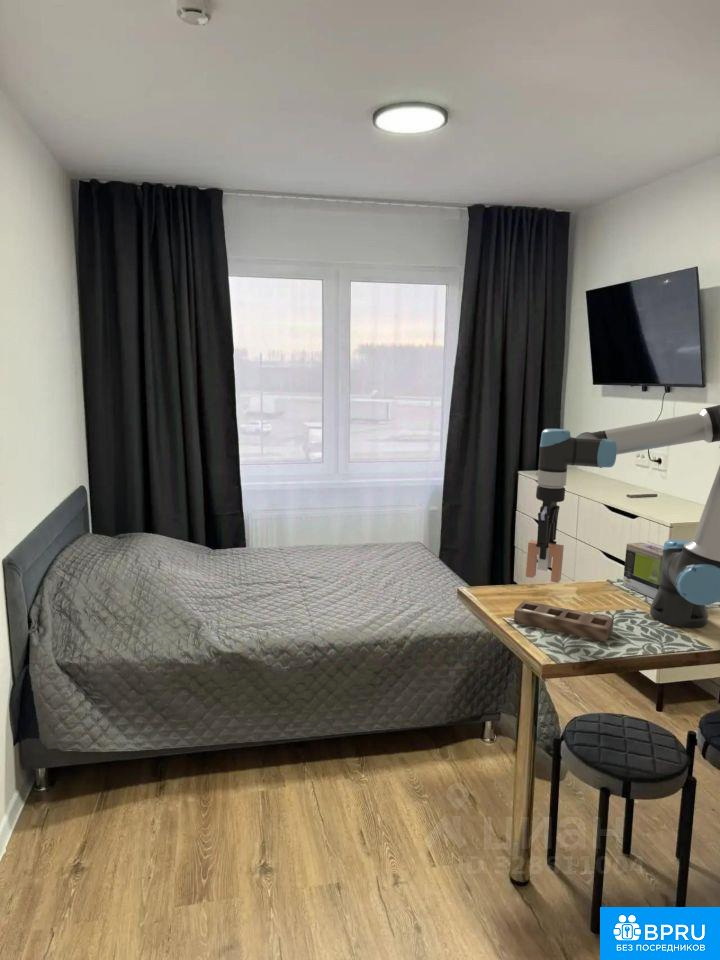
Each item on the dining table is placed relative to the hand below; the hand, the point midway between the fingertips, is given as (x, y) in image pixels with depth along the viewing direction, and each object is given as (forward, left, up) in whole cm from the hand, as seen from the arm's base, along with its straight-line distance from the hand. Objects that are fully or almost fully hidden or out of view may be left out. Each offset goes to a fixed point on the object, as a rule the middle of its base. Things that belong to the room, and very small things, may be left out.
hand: (544, 567), depth 185 cm
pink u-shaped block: (0, 0, -3) cm, 3 cm away
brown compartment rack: (-6, 0, -16) cm, 17 cm away
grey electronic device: (-23, -45, -16) cm, 53 cm away
